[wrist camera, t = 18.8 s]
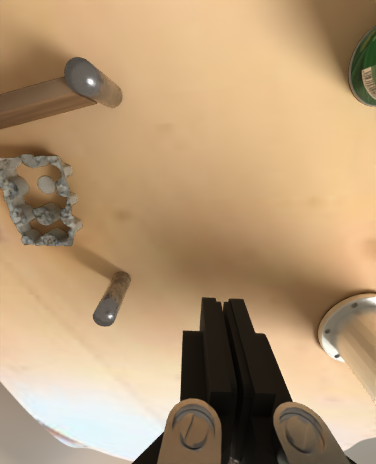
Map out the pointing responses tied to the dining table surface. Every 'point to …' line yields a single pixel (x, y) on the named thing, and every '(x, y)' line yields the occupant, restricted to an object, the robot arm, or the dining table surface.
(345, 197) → the dining table surface
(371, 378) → the robot arm
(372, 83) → the canned tomato
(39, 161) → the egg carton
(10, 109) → the gate
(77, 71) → the gate posts
